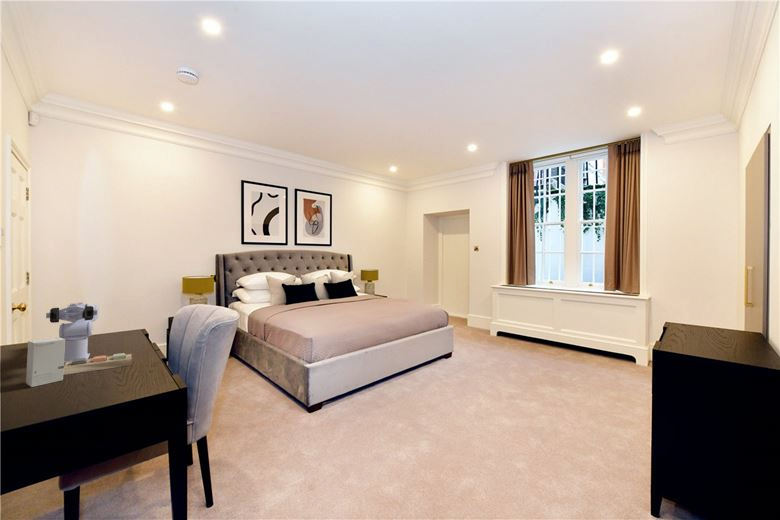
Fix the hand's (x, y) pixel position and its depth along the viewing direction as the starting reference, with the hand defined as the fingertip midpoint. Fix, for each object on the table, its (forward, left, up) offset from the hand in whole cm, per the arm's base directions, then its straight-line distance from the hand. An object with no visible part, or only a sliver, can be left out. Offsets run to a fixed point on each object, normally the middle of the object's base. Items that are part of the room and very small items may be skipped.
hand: (69, 315), depth 123 cm
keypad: (-3, +8, -22) cm, 24 cm away
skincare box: (+7, -5, -22) cm, 24 cm away
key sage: (-3, +14, -20) cm, 25 cm away
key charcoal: (-3, +2, -20) cm, 21 cm away
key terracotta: (-3, +8, -20) cm, 22 cm away
